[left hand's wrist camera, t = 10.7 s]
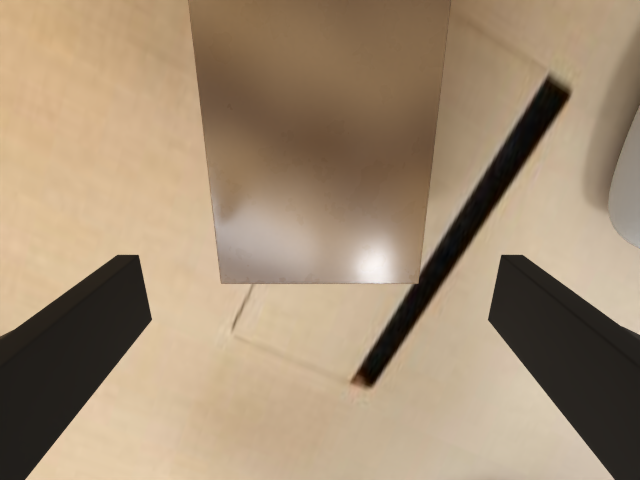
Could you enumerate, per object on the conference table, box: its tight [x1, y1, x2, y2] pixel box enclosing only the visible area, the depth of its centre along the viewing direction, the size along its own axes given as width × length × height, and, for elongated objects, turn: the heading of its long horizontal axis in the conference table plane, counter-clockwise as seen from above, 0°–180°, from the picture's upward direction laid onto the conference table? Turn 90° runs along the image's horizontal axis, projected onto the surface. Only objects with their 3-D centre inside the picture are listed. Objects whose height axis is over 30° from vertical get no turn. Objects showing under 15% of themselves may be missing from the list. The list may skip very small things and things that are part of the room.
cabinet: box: [188, 0, 451, 284], centre depth 21 cm, size 17×11×11 cm, turn 0°
